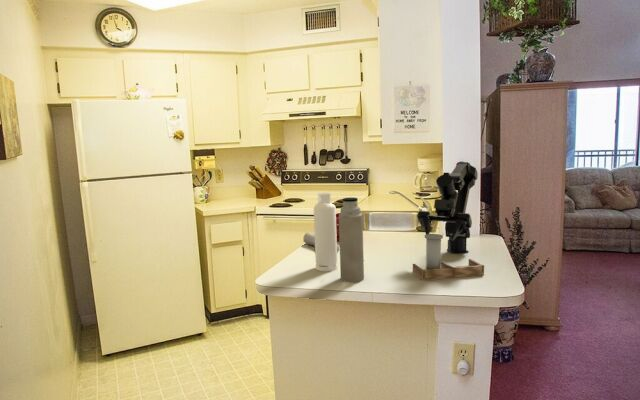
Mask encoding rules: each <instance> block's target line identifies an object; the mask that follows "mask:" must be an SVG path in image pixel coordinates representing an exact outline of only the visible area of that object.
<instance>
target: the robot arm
mask: <svg viewBox="0 0 640 400" xmlns="http://www.w3.org/2000/svg"><path fill="white" fill-rule="evenodd" d="M478 175H479V173H478V171H477V168H476V167H474V166H473V165H471V163H470V162H468V161H459V162H457V163H456V166H455V167H454V169H453V170H452V171H451V172H443V174H442V175H439V176H438V177H437V178H436V180H435V181H436V185H437V188H438V191H439V194H440V195H441V197H440V199H439V198H437V199H436V198H435V199H434V205H433V208H434V209H435V210H434V212H435V214H431V213H430V211H429V210H419V211H418V212H417V215H416V217H417V220H418V221H419V224H420V225H422V226H423V227H424V231H425V235H426V234H431V233H430V232H431V228H432V221H434V222H445V226H444V230H445V237H446V238H448V239H447V249H446V251H448V252H450V253H452V254H464V253H469V250H467V239H469V238H471V231H470V229H471V228H472V224H473V221H472V216H471V214H470V213H468V212H467V211H466V210H467V205H468V200H469V195H470V190H471V189H472V188H473V187H474V186H475V184H476V181H477V180H478Z"/></svg>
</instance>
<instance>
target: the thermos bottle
mask: <svg viewBox="0 0 640 400" xmlns="http://www.w3.org/2000/svg"><path fill="white" fill-rule="evenodd" d="M361 211H362V209H361V207H360V206H359V205H358V198H357V197H343V198H342V207H341V208H340V211H339V213H341V214H339V239H340V241H339V266H340V270H339V271H340V280H341V281H342V282H345V283H359V282H362V281H363V280H364V279H365V266H364V265H365V264H364V261H365V259H364V226H363V225H364V223H363V222H364V221H363V220H364V219H363V213H362V212H361Z"/></svg>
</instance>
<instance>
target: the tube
mask: <svg viewBox="0 0 640 400" xmlns="http://www.w3.org/2000/svg"><path fill="white" fill-rule="evenodd" d="M303 242H304V243H305V244H308V245H311V246H312V245H313V247H315V234H313V233H311V232H305V234H304V236H303ZM339 252H340V244H338V243H337V254H338V253H339Z"/></svg>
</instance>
